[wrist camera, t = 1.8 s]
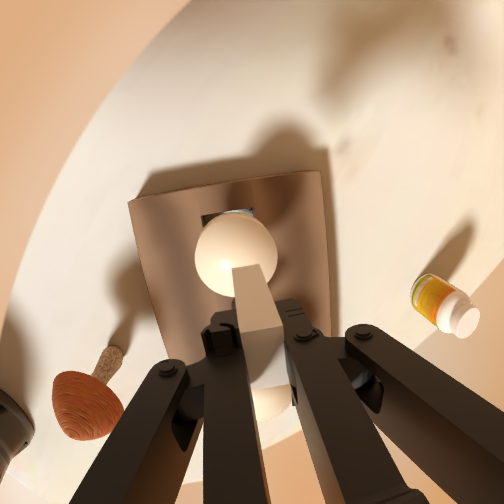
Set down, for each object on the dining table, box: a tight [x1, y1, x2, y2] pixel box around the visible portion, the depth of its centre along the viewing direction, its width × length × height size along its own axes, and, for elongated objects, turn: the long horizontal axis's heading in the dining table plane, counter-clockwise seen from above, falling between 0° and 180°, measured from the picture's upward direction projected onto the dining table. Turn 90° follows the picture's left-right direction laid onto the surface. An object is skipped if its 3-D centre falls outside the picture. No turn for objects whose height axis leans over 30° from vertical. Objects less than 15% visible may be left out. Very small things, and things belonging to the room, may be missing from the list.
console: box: [128, 170, 331, 386], centre depth 32 cm, size 18×24×3 cm
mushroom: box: [52, 346, 124, 441], centre depth 27 cm, size 8×8×15 cm
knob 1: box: [195, 212, 278, 297], centre depth 25 cm, size 6×6×6 cm
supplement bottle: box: [410, 273, 480, 338], centre depth 32 cm, size 5×5×10 cm
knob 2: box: [251, 384, 292, 421], centre depth 29 cm, size 6×6×6 cm
